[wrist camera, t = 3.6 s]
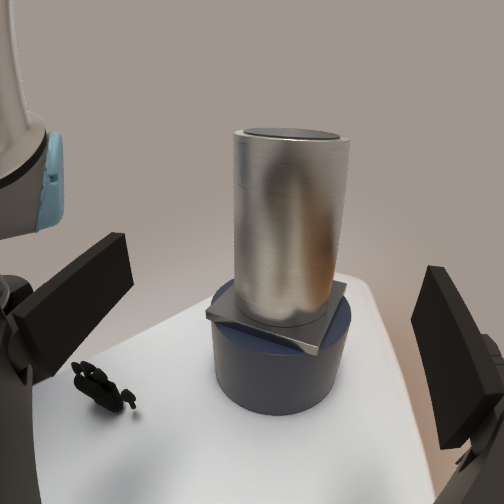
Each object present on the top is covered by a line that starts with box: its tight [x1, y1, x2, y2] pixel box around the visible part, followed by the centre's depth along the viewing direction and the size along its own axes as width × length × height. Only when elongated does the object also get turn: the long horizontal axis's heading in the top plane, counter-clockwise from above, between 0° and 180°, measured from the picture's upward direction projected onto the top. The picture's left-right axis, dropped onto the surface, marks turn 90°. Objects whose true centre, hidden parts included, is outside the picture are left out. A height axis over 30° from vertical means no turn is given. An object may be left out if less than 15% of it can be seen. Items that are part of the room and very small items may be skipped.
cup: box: [233, 128, 350, 327], centre depth 21 cm, size 7×7×12 cm
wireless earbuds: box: [71, 361, 136, 412], centre depth 21 cm, size 7×2×5 cm, turn 70°
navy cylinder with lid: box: [206, 279, 351, 415], centre depth 26 cm, size 11×11×8 cm
